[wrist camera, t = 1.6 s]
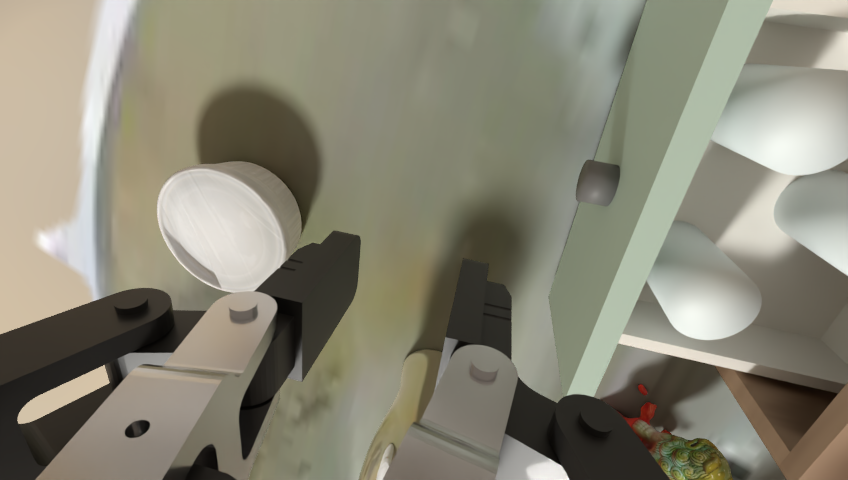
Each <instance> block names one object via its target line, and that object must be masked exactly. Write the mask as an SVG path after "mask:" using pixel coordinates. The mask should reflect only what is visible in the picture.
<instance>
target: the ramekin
mask: <svg viewBox="0 0 848 480" xmlns="http://www.w3.org/2000/svg"><path fill="white" fill-rule="evenodd" d="M157 216H158V222H159V226H160V230H161V233H162V235H163V238H164V240H165V242H166V244H167V246H168V247H169V249H170V251H171V252H172V254H173V255H174V256H175V258H176V259H177V260H178V261H179V262H180V264H181V265H182V266H183V267H184V268H185V269H186V270H188V271H189V272H190V273H191V274H192V275H194V276H195V277H196V278H198V279H199V280H201V281H203V282H204V283H206V284H208V285H210V286H212V287H214V288H217V289H220V290H223V291H227V292H234V293H237V292H244V291H255V290H256V289H257V288H258V287H259V286H260V285H261V284H262V283H263V282H264V281H265V280H266V279H267V278H268V277H269V276H270V275H271V274H272V273H274V272H275V271H276V270H277V269H278V268H280V266H281V265H282V264H283V263H284V262H285V261H286V260H287V261H288V258H289V257H290V256H291V254H292V252H293V251H294V249H295V248H296V246H297V244H298V242H299V239H300V236H301V231H302V228H301V226H302V222H301V215H300V210H299V208H298V204H297V202H296V200H295V198H294V196H293V195H292V193H291V191H290V190H289V189H288V187H287V186H286V185H285V184H284V183H283V182H282V180H280V179H279V178H278V177H277V176H276V175H275V174H273V173H271V172H270V171H269V170H267V169H265V168H263V167H261V166H258V165H256V164H253V163H249V162H243V161H231V162H224V163H218V164H198V165H193V166H190V167H187V168H184V169H182V170H180V171H177V172H175V173H174V174H173V175H172V176H170V177H169V178H168V180H167V181H166V182H165V183H164V185H163V187H162V188H161V191H160V194H159V196H158V202H157Z"/></svg>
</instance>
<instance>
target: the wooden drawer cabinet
mask: <svg viewBox="0 0 848 480" xmlns="http://www.w3.org/2000/svg"><path fill="white" fill-rule="evenodd" d="M714 366H715V367H716V369H717V370H718V372H719V373H720V375H721V377H722V378H723V380H724V381H725V383H726V385H727V386H728V388H729V389H730V391H731V392H732V394H733V396H734V397H735V399H736V400H737V402H738V403H739V405H740V407H741V408H742V410H743V411H744V413H745V415H746V416H747V418H748V419H749V421H750V422H751V424H752V426H753V427H754V429H755V430H756V432H757V433H758V435H759V437H760V438H761V440H762V441H763V443H764V445H765V446H766V448H767V449H768V451H769V452H770V454H771V456H772V457H773V459H774V460H775V462H776V464H777V465H778V467H779V468H780V470H781V471H782V473H783V475H784V476H785V478H786V479H787V480H848V382H847V384H846V385H845V386H844V387H843V389H842V390H841V391H840V392H839V393H834V392H830V391H825V390H821V389H817V388H812V387H808V386H803V385H799V384H795V383H790V382H786V381H782V380H777V379H773V378H768V377H764V376H760V375H755V374H751V373H746V372H742V371H738V370H733V369H729V368H725V367H720V366H716V365H714Z"/></svg>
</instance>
